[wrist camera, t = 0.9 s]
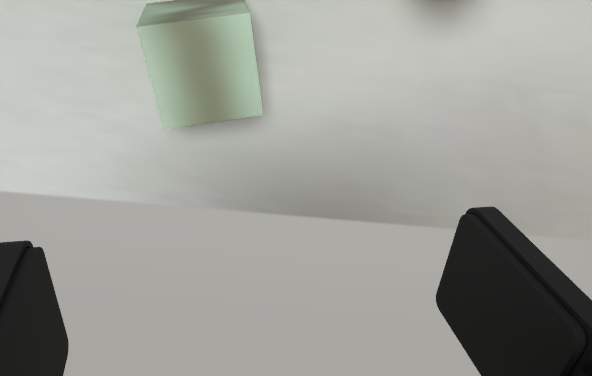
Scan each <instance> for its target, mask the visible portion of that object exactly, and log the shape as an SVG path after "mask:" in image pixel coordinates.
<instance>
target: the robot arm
mask: <svg viewBox="0 0 592 376" xmlns="http://www.w3.org/2000/svg"><path fill="white" fill-rule="evenodd" d="M436 302H437V306H438V308H439V310H440V312H441V313H442V315H443V316H444V318H445V319H446V321H447V323H448V324H449V326H450V327H451V329H452V331H453V332H454V334H455V335H456V337H457V338H458V340H459V341H460V343H461V344H462V346H463V348H464V349H465V351H466V352H467V354H468V356H469V357H470V359H471V360H472V362H473V363H474V365H475V367H476V368H477V370H478V371H479V373H480V374H481V376H592V300H591V299H590V298H589V297H588V296H586V295H585V293H583V292H582V291H581V290H580V289H579V288H578V287H577V286H576V285H575V284H574V283H573V282H572V281H571V280H570V279H569V278H568V277H567V276H566V275H565V274H564V273H563V272H562V271H561V270H560V269H559V268H558V267H556V265H555V264H554V263H552V262H551V261H550V260H549V259H548V258H547V257H546V256H545V255H544V254H543V253H542V252H541V251H540V250H539V249H538V248H537V247H536V246H535V245H534V244H533V243H532V242H531V241H530V240H529V239H528V238H527V237H526V236H525V235H524V234H523V233H522V232H521V231H520V230H519V229H518V228H516V227H515V226H514V225H513V224H512V223H511V222H510V221H509V220H508V219H507V218H506V217H505V216H504V215H503V214H502V213H501V212H500V211H499V210H498V209H496V208H495V207H479V208H471V209H469V210H468V211H467V212H466V214H465V215H463V216H462V217H461V218H460V220H459V224H458V227H457V230H456V233H455V236H454V239H453V243H452V246H451V249H450V252H449V256H448V259H447V262H446V265H445V268H444V271H443V275H442V278H441V281H440V284H439V287H438V291H437V294H436ZM67 355H68V338H67V334H66V330H65V327H64V323H63V319H62V316H61V312H60V309H59V305H58V302H57V298H56V294H55V290H54V287H53V283H52V280H51V276H50V272H49V269H48V265H47V262H46V258H45V254H44V251H43V249H42V248H41V247H33V245H32V243H31V242H30V241H15V242H3V243H0V376H63V373H64V369H65V364H66V360H67Z"/></svg>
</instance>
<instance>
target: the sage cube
mask: <svg viewBox="0 0 592 376" xmlns="http://www.w3.org/2000/svg"><path fill="white" fill-rule="evenodd" d="M137 31H138V35H139V39H140V42H141V46H142V50H143V54H144V57H145V61H146V65H147V69H148V72H149V76H150V80H151V84H152V88H153V91H154V95H155V99H156V103H157V106H158V110H159V114H160V118H161V121H162V125H163V129H164V130H166V129H172V128H179V127H186V126H192V125H199V124H206V123H213V122H219V121H226V120H233V119H239V118H246V117H253V116H259V115H263V110H262V103H261V95H260V87H259V79H258V72H257V64H256V56H255V49H254V41H253V33H252V25H251V18H250V12H249V10H248V7H247V5H246V3H245V0H174V1H165V2H157V3H149V4H146V6H145V9H144V11H143V13H142V15H141V18H140V20H139V22H138V24H137Z"/></svg>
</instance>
